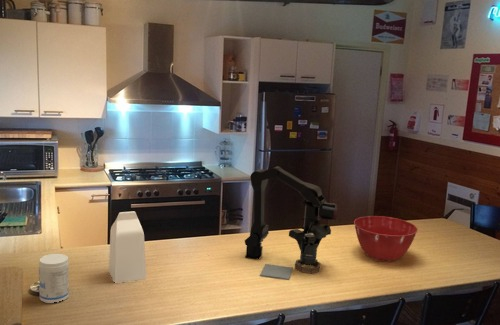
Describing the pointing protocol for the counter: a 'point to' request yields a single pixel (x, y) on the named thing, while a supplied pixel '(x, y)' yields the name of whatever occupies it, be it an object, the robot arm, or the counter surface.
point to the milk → (127, 249)
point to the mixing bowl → (384, 237)
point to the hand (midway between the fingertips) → (308, 251)
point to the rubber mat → (276, 271)
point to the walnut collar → (307, 269)
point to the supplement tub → (53, 278)
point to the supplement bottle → (309, 250)
